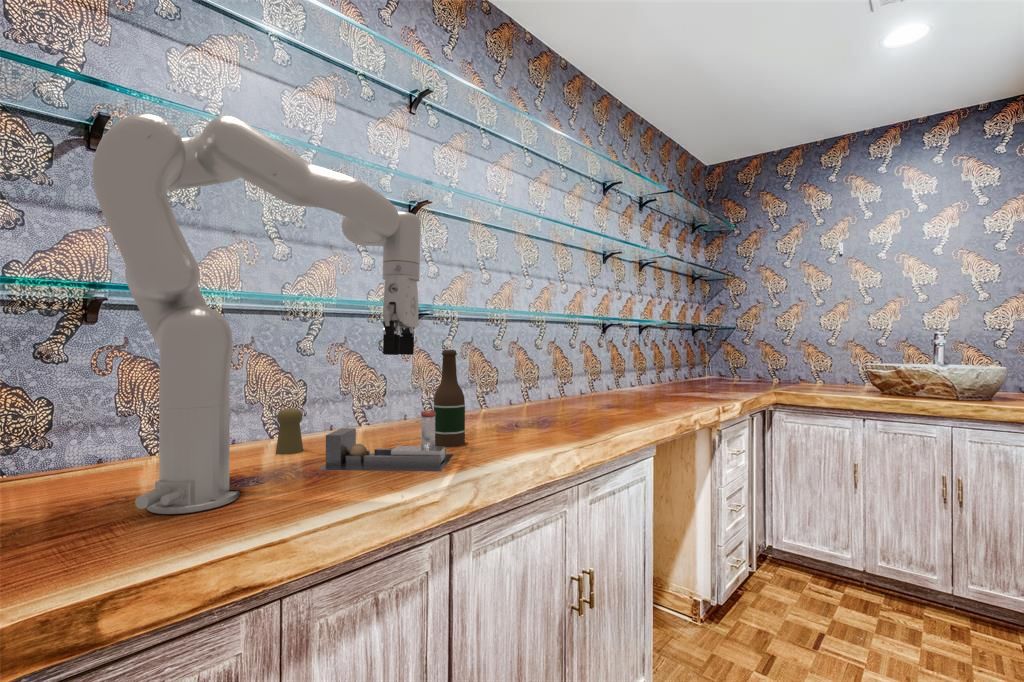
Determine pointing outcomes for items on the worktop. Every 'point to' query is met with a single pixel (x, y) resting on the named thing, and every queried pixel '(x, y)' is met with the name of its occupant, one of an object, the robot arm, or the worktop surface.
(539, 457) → the worktop surface
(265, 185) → the robot arm
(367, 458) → the nutcracker base
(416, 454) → the grey and clear stand
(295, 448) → the cork
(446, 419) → the beer bottle
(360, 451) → the walnut
